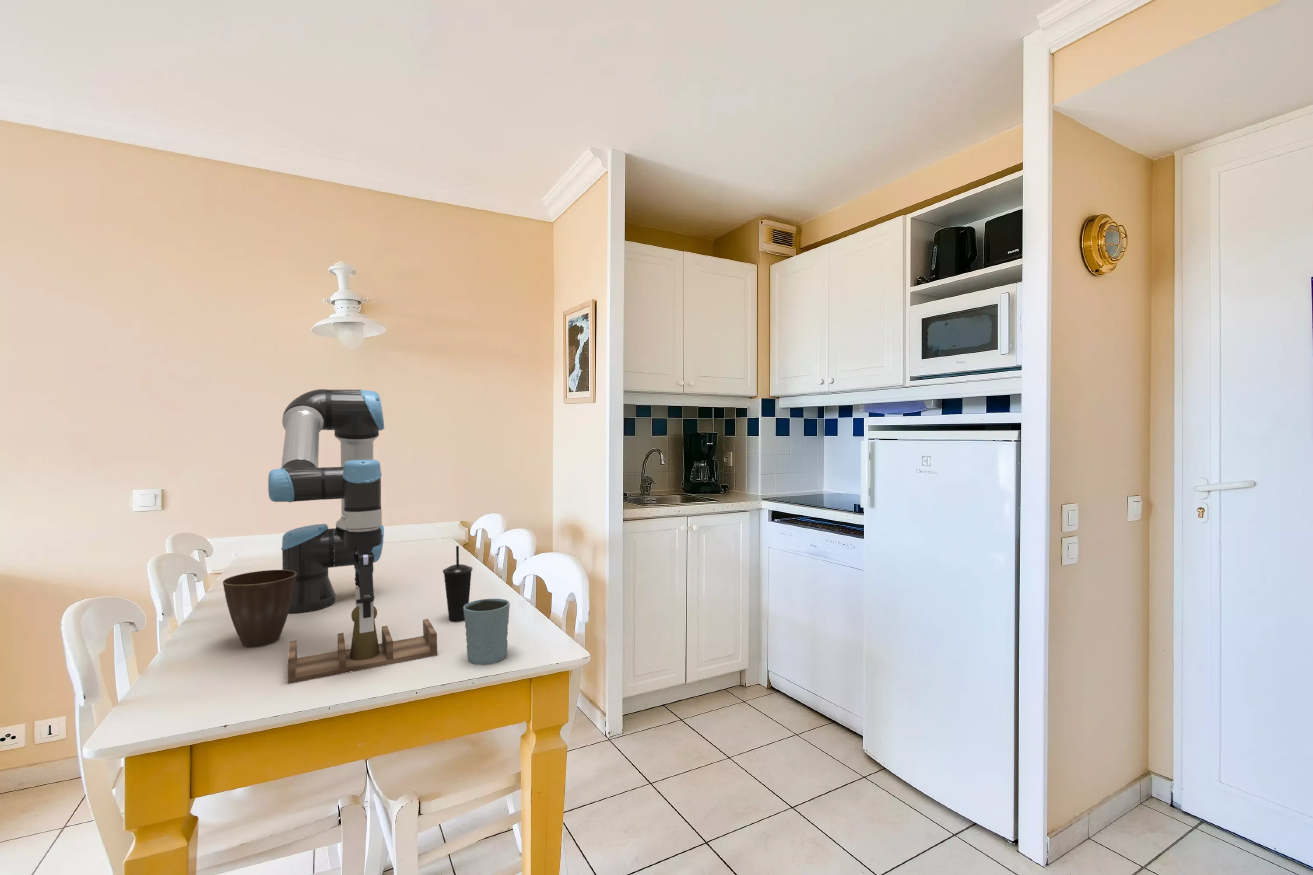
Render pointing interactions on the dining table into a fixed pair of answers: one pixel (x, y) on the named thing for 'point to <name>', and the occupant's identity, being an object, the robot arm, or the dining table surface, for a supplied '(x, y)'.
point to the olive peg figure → (363, 639)
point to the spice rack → (342, 663)
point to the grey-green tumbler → (486, 630)
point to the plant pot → (259, 604)
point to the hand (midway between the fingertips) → (364, 622)
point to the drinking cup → (457, 588)
